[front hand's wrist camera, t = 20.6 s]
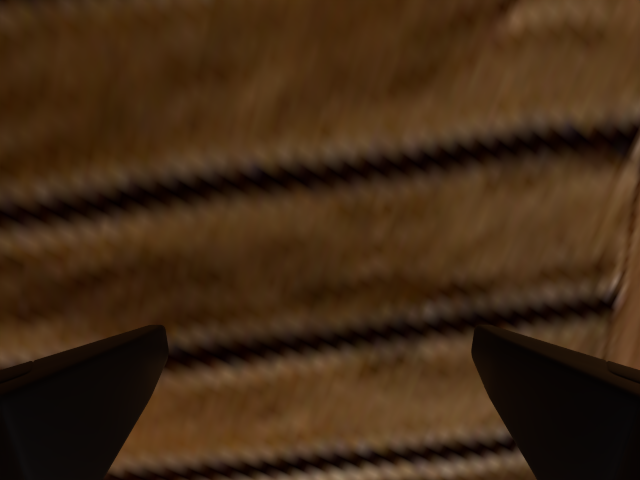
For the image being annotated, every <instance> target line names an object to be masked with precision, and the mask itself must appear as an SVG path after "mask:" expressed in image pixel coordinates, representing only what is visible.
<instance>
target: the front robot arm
mask: <svg viewBox="0 0 640 480" xmlns="http://www.w3.org/2000/svg"><path fill="white" fill-rule="evenodd" d="M168 353H169V350H168V343H167V336H166V330H165V327H164V326H163V325H148V326H145V327H142V328H138V329H135V330H132V331H129V332H125V333H122V334H119V335H116V336H112V337H109V338H106V339H103V340H99V341H96V342H93V343H90V344H86V345H83V346H80V347H77V348H73V349H70V350H67V351H64V352H60V353H57V354H54V355H51V356H47V357H44V358H41V359H38V360H35V361H34V362H32V361H29V362H26V363H23V364H20V365H16V366H13V367H9V368H6V369H3V370H0V480H103V479H104V477H105V475H106V473H107V472H108V470H109V468H110V467H111V465H112V463H113V461H114V460H115V458H116V456H117V455H118V453H119V451H120V449H121V448H122V446H123V444H124V443H125V441H126V439H127V437H128V436H129V434H130V432H131V431H132V429H133V427H134V425H135V424H136V422H137V420H138V419H139V417H140V415H141V413H142V412H143V410H144V408H145V407H146V405H147V403H148V401H149V400H150V398H151V396H152V394H153V391H154V389H155V387H156V384H157V382H158V380H159V377H160V375H161V373H162V370H163V368H164V366H165V363H166V361H167V358H168ZM471 353H472V358H473V361H474V363H475V366H476V368H477V370H478V373H479V375H480V377H481V380H482V382H483V384H484V387H485V389H486V391H487V394H488V396H489V398H490V400H491V401H492V403H493V405H494V407H495V408H496V410H497V412H498V413H499V415H500V417H501V419H502V420H503V422H504V424H505V425H506V427H507V429H508V431H509V432H510V434H511V436H512V437H513V439H514V441H515V443H516V444H517V446H518V448H519V449H520V451H521V453H522V455H523V456H524V458H525V460H526V461H527V463H528V465H529V467H530V468H531V470H532V472H533V473H534V475H535V477H536V479H537V480H640V370H637V369H634V368H631V367H627V366H624V365H620V364H617V363H614V362H611V361H608V362H606V361H605V360H602V359H599V358H596V357H593V356H589V355H586V354H583V353H580V352H576V351H573V350H570V349H567V348H563V347H560V346H557V345H554V344H550V343H547V342H544V341H541V340H537V339H534V338H531V337H528V336H524V335H521V334H518V333H515V332H511V331H508V330H505V329H502V328H498V327H495V326H492V325H477V326H476V327H475V330H474V336H473V343H472V350H471Z"/></svg>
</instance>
